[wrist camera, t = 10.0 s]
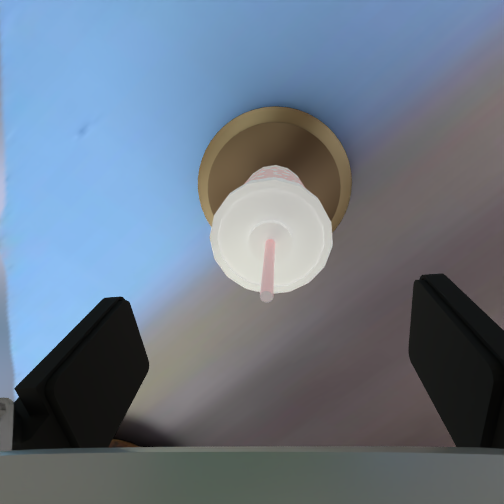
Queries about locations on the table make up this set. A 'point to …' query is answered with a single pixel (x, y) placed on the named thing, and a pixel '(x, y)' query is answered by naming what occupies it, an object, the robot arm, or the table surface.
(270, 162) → the pedestal
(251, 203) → the beverage cup
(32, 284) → the table surface
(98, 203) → the table surface
